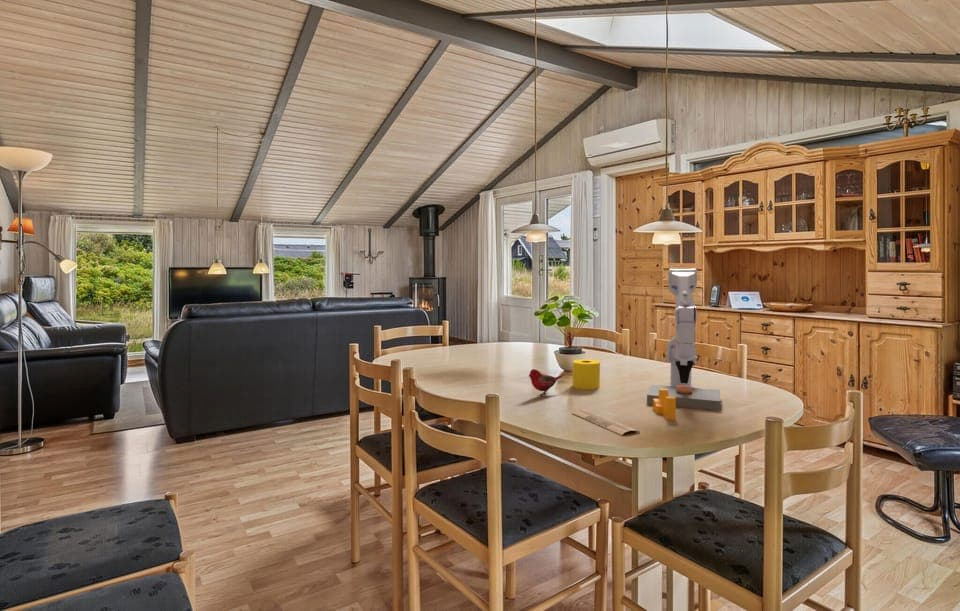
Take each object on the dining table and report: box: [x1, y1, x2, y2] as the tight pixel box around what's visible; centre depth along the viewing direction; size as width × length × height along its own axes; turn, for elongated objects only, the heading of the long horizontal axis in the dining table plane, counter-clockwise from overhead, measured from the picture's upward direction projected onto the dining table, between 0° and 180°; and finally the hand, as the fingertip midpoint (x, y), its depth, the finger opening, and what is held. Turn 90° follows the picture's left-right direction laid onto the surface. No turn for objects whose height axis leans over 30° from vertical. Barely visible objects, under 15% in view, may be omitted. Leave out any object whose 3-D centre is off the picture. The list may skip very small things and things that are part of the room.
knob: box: [676, 385, 693, 394], centre depth 178 cm, size 5×5×5 cm
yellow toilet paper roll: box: [572, 358, 601, 390], centre depth 201 cm, size 10×10×9 cm
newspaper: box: [572, 408, 641, 436], centre depth 155 cm, size 24×7×2 cm, turn 25°
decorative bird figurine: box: [528, 368, 565, 397], centre depth 189 cm, size 3×18×10 cm, turn 127°
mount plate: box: [646, 384, 721, 411], centre depth 178 cm, size 16×22×3 cm
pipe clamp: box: [652, 389, 677, 420], centre depth 164 cm, size 12×4×6 cm, turn 172°
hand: (684, 382), depth 178 cm, fingers closed
